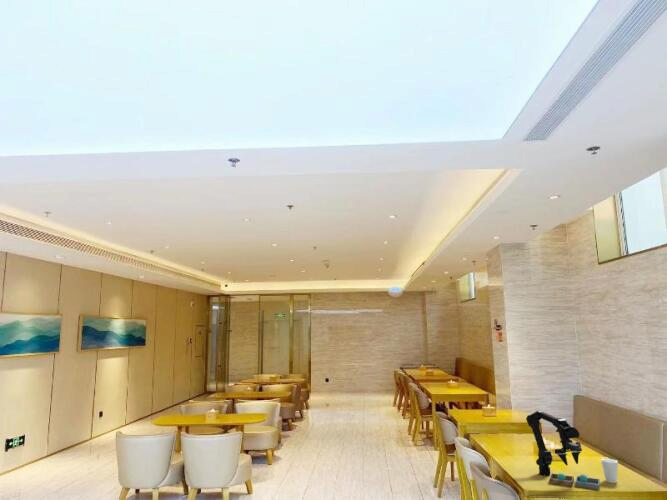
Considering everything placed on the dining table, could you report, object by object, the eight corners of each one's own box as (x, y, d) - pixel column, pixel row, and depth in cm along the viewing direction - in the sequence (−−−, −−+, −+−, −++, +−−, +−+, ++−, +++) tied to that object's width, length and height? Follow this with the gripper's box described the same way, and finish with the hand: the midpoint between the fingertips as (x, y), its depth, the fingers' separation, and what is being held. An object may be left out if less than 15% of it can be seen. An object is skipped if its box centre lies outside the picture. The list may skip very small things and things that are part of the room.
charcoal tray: (575, 486, 296) (575, 481, 297) (577, 480, 308) (576, 476, 308) (599, 490, 290) (599, 485, 290) (600, 484, 301) (599, 479, 302)
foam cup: (614, 479, 311) (612, 458, 314) (622, 483, 302) (620, 462, 304) (600, 479, 311) (598, 458, 313) (608, 483, 302) (606, 462, 304)
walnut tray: (549, 483, 302) (549, 478, 303) (552, 478, 313) (551, 473, 314) (572, 487, 296) (572, 481, 296) (573, 481, 307) (573, 476, 307)
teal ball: (557, 481, 304) (556, 473, 305) (558, 479, 308) (557, 471, 309) (565, 483, 301) (565, 474, 302) (566, 480, 306) (565, 472, 306)
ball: (579, 483, 301) (578, 474, 302) (579, 480, 306) (578, 472, 306) (587, 484, 299) (587, 476, 300) (588, 482, 303) (587, 474, 304)
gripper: (564, 439, 297) (571, 466, 291) (585, 436, 305) (592, 462, 298) (551, 440, 307) (557, 466, 301) (571, 438, 314) (578, 463, 308)
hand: (572, 464), depth 302 cm, fingers open, 9 cm apart
